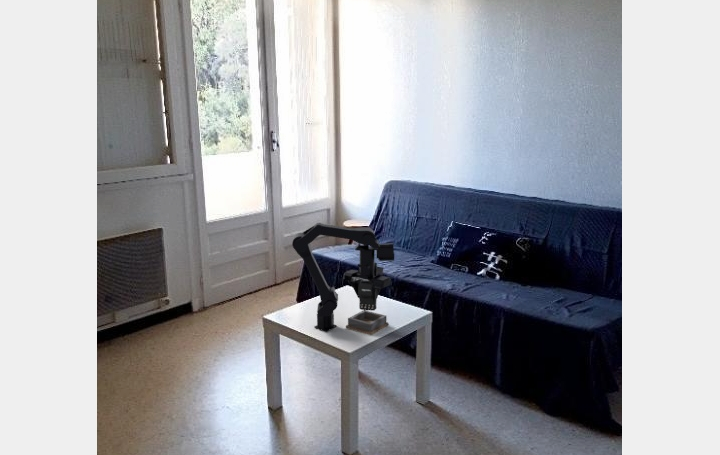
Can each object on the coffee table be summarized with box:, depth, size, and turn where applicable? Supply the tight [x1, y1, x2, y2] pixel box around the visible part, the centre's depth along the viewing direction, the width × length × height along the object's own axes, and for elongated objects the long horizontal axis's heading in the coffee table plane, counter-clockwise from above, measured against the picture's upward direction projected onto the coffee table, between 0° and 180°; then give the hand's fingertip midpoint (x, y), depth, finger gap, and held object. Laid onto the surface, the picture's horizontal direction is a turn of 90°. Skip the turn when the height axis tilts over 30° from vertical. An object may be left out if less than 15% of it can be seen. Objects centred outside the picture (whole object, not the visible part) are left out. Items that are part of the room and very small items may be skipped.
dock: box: [345, 310, 390, 336], centre depth 227 cm, size 12×12×4 cm
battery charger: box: [358, 280, 378, 312], centre depth 224 cm, size 7×4×11 cm, turn 75°
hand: (366, 299), depth 224 cm, fingers closed on battery charger, 7 cm apart
